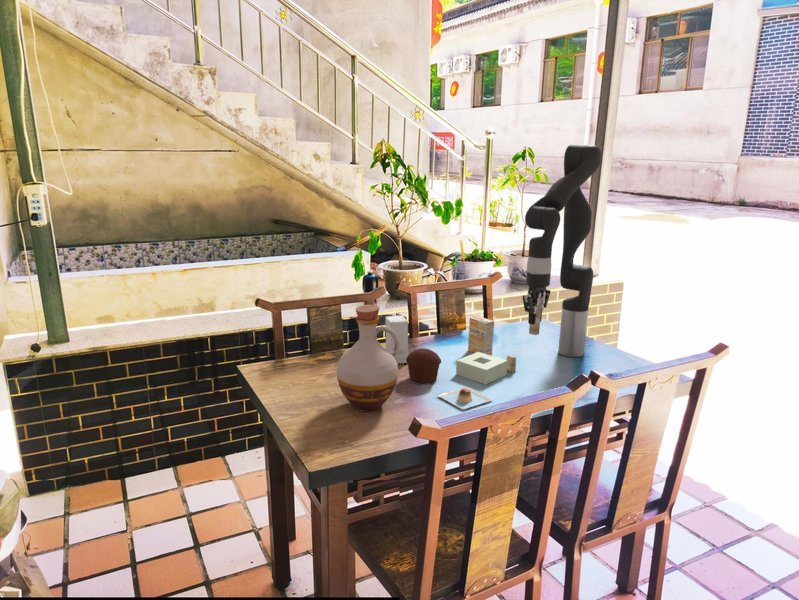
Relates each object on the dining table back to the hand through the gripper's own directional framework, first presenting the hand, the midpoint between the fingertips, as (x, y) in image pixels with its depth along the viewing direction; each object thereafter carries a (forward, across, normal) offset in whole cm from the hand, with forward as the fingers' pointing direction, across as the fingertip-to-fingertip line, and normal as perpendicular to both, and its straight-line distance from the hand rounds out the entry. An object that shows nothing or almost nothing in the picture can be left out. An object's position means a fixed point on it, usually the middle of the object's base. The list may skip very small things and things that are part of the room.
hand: (534, 322), depth 194 cm
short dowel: (+19, -1, -8) cm, 21 cm away
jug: (+19, +52, -23) cm, 60 cm away
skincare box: (+19, +20, -42) cm, 51 cm away
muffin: (+19, +26, -24) cm, 41 cm away
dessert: (+20, +29, -5) cm, 36 cm away
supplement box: (+19, -8, -26) cm, 34 cm away
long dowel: (+4, 0, 0) cm, 4 cm away
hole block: (+19, +9, -13) cm, 25 cm away
